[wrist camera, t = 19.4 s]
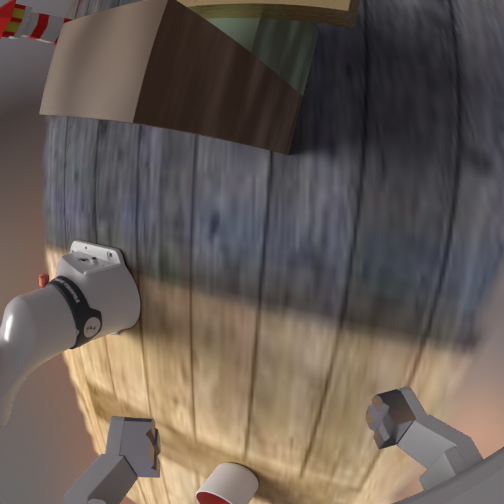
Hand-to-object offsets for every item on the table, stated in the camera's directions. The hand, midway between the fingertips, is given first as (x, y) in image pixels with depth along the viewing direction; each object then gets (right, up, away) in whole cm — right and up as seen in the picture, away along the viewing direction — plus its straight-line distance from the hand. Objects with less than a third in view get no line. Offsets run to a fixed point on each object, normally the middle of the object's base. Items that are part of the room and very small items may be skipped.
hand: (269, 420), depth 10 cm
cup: (-3, -42, +46) cm, 62 cm away
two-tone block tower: (+1, +29, +29) cm, 41 cm away
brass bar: (-1, +28, +12) cm, 30 cm away
